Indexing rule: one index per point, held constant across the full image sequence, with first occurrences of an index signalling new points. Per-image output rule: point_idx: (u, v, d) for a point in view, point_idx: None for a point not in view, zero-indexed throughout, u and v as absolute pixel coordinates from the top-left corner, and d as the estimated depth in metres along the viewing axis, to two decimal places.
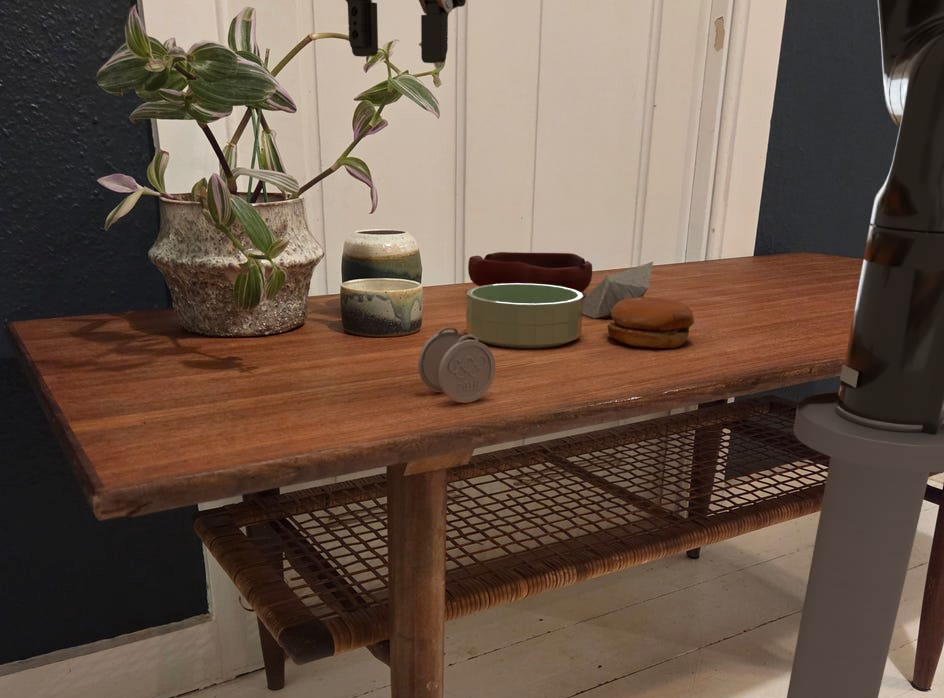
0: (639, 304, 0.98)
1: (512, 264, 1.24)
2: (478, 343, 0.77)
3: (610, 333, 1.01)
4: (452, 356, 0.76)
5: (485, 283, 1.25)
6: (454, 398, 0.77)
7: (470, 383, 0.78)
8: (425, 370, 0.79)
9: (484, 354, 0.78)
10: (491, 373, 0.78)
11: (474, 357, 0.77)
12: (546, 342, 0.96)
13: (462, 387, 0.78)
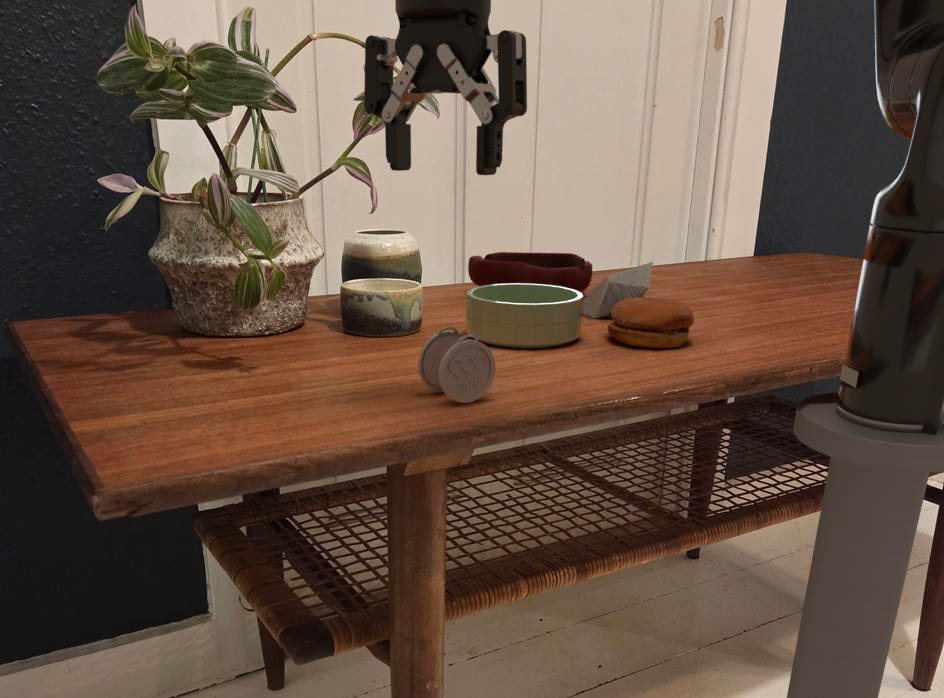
0: (639, 304, 0.98)
1: (512, 264, 1.24)
2: (478, 343, 0.77)
3: (610, 333, 1.01)
4: (452, 356, 0.76)
5: (485, 283, 1.25)
6: (454, 398, 0.77)
7: (470, 383, 0.78)
8: (425, 370, 0.79)
9: (484, 354, 0.78)
10: (491, 373, 0.78)
11: (474, 357, 0.77)
12: (546, 342, 0.96)
13: (462, 387, 0.78)
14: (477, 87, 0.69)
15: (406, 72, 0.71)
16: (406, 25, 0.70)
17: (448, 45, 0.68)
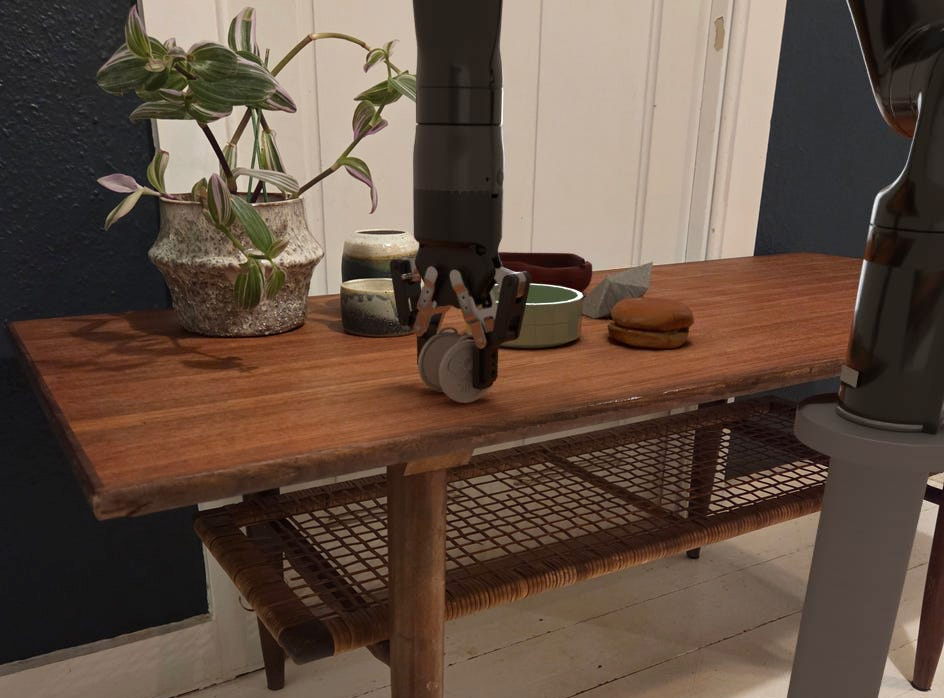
0: (639, 304, 0.98)
1: (512, 264, 1.24)
2: None
3: (610, 333, 1.01)
4: (452, 356, 0.76)
5: None
6: (454, 398, 0.77)
7: (470, 383, 0.78)
8: (425, 370, 0.79)
9: None
10: None
11: None
12: (546, 342, 0.96)
13: (462, 387, 0.78)
14: (478, 315, 0.74)
15: (423, 288, 0.76)
16: (424, 246, 0.76)
17: (460, 273, 0.73)
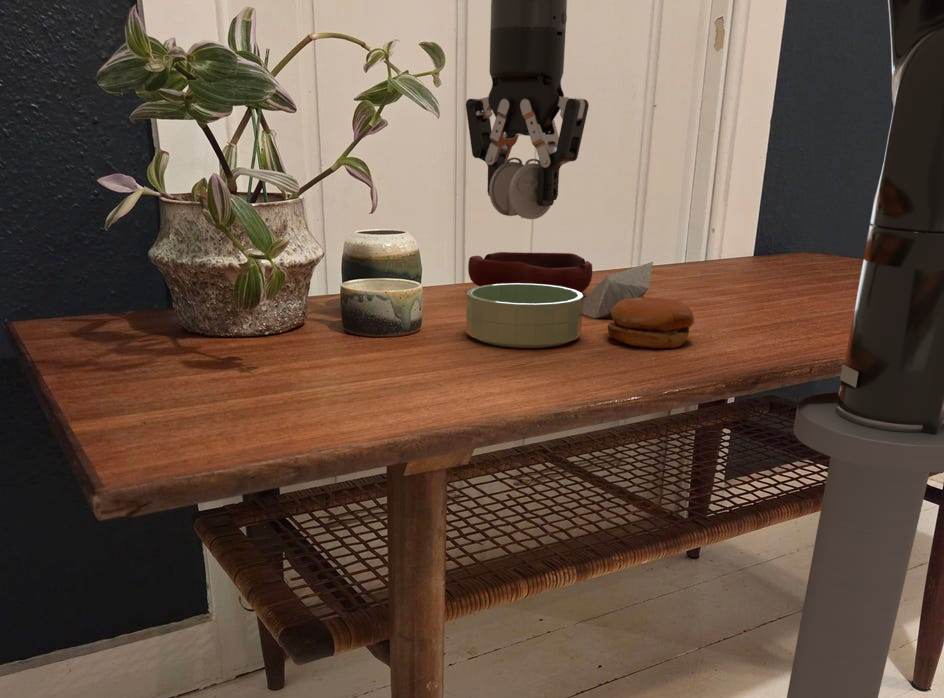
0: (639, 304, 0.98)
1: (512, 264, 1.24)
2: (541, 166, 0.92)
3: (610, 333, 1.01)
4: (520, 176, 0.91)
5: (485, 283, 1.25)
6: (521, 214, 0.92)
7: (534, 203, 0.93)
8: (495, 195, 0.94)
9: None
10: None
11: None
12: (546, 342, 0.96)
13: (528, 205, 0.92)
14: (544, 138, 0.89)
15: (496, 119, 0.91)
16: (497, 83, 0.91)
17: (529, 101, 0.88)
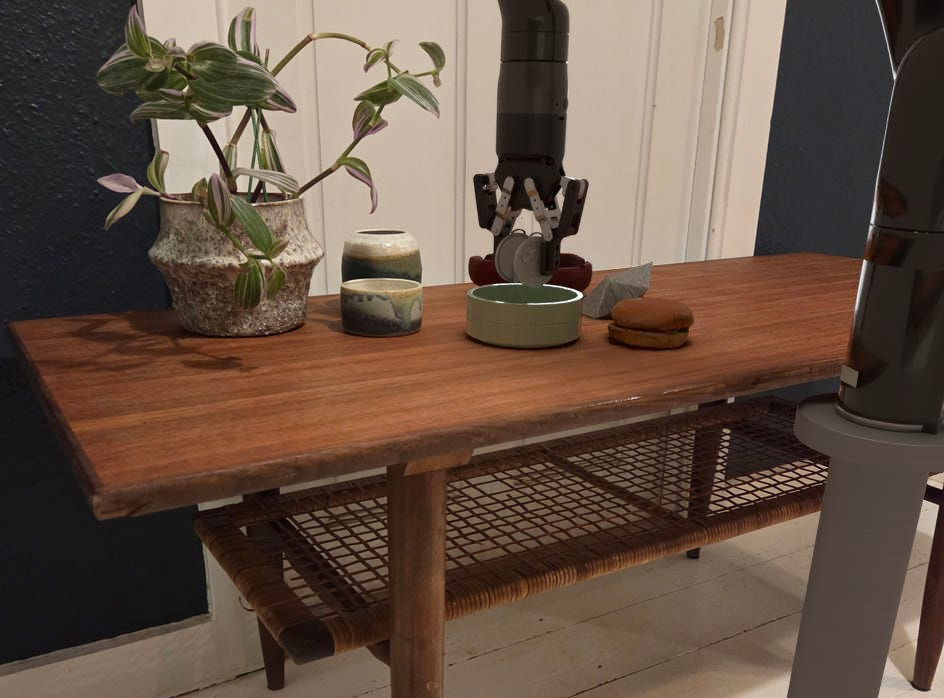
0: (639, 304, 0.98)
1: None
2: None
3: (610, 333, 1.01)
4: (524, 248, 0.96)
5: (485, 283, 1.25)
6: (525, 283, 0.98)
7: (537, 272, 0.98)
8: (500, 263, 1.00)
9: None
10: None
11: None
12: (546, 342, 0.96)
13: (531, 275, 0.98)
14: (546, 214, 0.95)
15: (501, 195, 0.97)
16: (503, 161, 0.96)
17: (533, 180, 0.94)
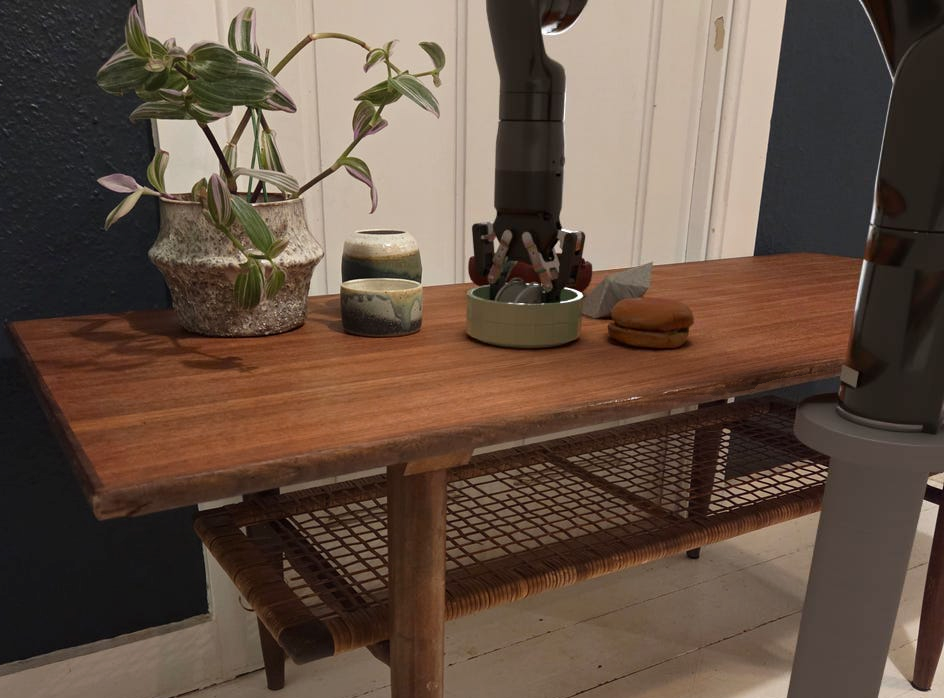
0: (639, 304, 0.98)
1: None
2: (542, 289, 0.99)
3: (610, 333, 1.01)
4: (522, 298, 0.98)
5: (485, 283, 1.25)
6: None
7: None
8: None
9: None
10: None
11: (539, 299, 1.00)
12: (546, 342, 0.96)
13: None
14: (545, 266, 0.97)
15: (500, 247, 0.99)
16: (501, 214, 0.98)
17: (530, 234, 0.96)
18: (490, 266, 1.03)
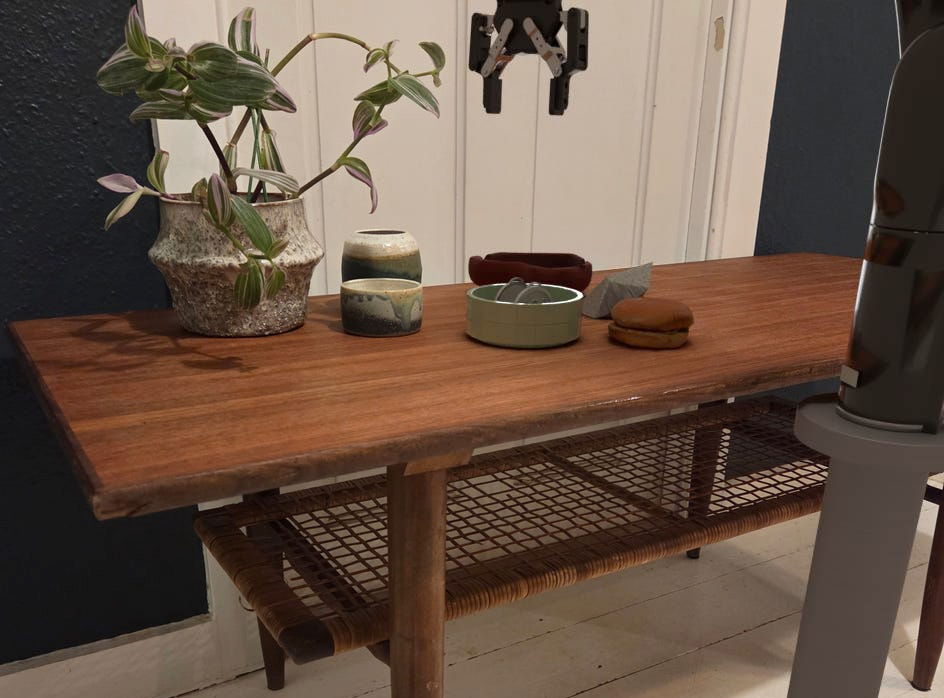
0: (639, 304, 0.98)
1: (512, 264, 1.24)
2: (542, 289, 0.99)
3: (610, 333, 1.01)
4: (522, 298, 0.98)
5: (485, 283, 1.25)
6: None
7: None
8: None
9: (546, 298, 1.00)
10: None
11: (539, 299, 1.00)
12: (546, 342, 0.96)
13: None
14: (551, 49, 0.94)
15: (500, 39, 0.97)
16: (502, 4, 0.96)
17: (531, 18, 0.94)
18: (484, 62, 1.01)
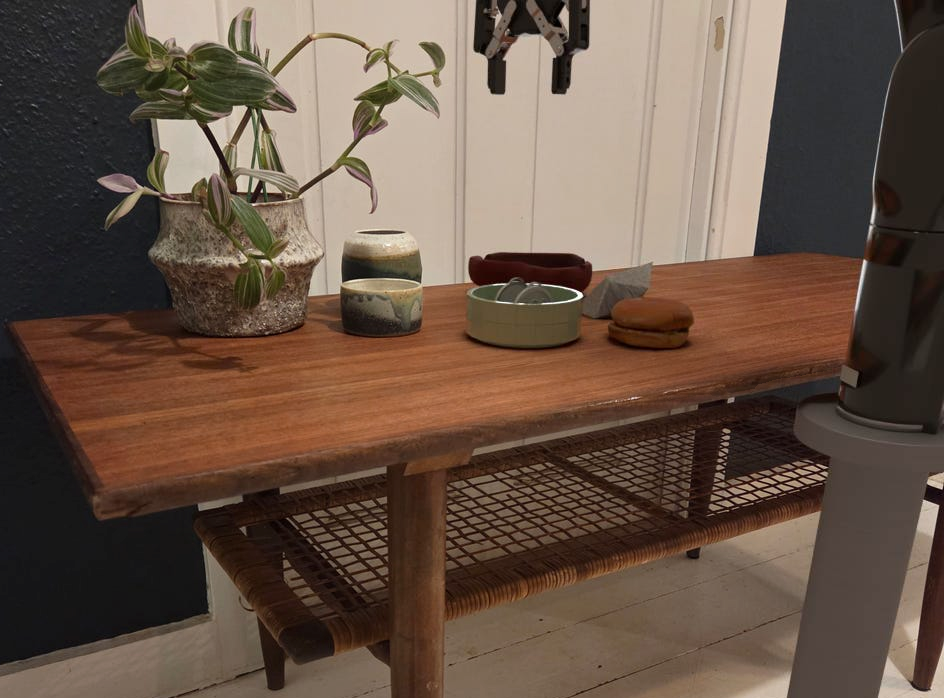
0: (639, 304, 0.98)
1: (512, 264, 1.24)
2: (542, 289, 0.99)
3: (610, 333, 1.01)
4: (522, 298, 0.98)
5: (485, 283, 1.25)
6: None
7: None
8: None
9: (546, 298, 1.00)
10: None
11: (539, 299, 1.00)
12: (546, 342, 0.96)
13: None
14: (554, 29, 0.96)
15: (504, 20, 0.99)
16: None
17: None
18: (488, 44, 1.03)
